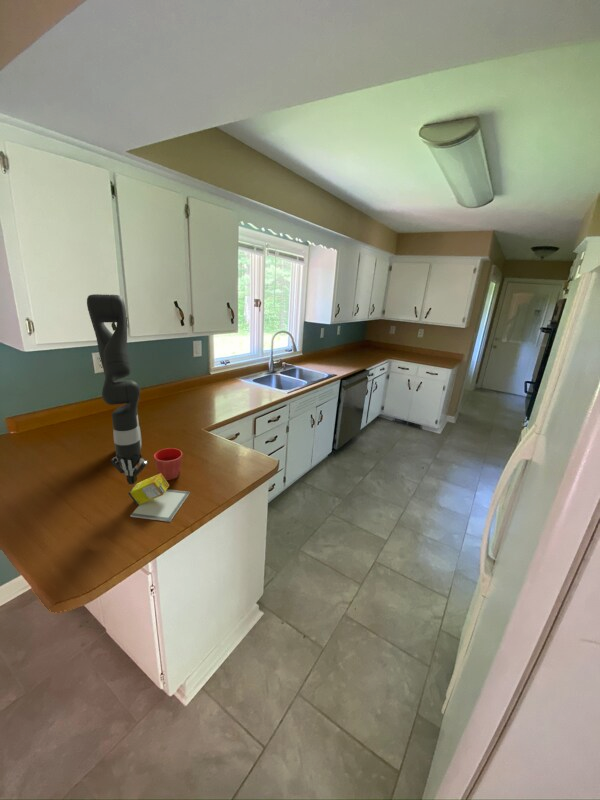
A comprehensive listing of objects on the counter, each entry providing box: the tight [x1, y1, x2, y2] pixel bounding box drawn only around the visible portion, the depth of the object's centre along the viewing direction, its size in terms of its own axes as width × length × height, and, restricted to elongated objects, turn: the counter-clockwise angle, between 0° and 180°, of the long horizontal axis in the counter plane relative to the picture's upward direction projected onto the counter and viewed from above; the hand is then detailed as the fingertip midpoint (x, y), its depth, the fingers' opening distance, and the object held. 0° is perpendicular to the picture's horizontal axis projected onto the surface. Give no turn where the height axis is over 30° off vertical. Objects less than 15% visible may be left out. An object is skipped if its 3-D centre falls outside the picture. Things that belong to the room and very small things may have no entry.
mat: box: [130, 488, 191, 523], centre depth 114 cm, size 16×14×1 cm
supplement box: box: [128, 473, 170, 506], centre depth 113 cm, size 6×6×11 cm
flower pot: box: [153, 447, 183, 481], centre depth 129 cm, size 11×11×10 cm
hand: (132, 483), depth 112 cm, fingers closed
